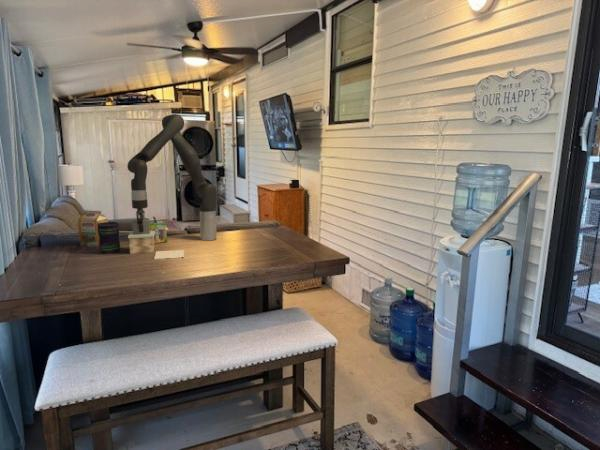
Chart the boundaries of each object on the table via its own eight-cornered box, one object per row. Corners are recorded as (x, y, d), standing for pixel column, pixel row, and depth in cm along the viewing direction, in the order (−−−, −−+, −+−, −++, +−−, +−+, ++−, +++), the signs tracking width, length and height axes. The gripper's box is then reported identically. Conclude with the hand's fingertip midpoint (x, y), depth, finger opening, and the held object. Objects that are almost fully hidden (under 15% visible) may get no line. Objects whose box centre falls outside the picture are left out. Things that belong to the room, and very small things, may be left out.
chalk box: (167, 242, 231) (166, 217, 228) (150, 244, 226) (149, 218, 223) (163, 239, 238) (162, 214, 235) (147, 240, 233) (145, 215, 231)
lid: (154, 234, 217) (153, 217, 215) (153, 239, 206) (152, 222, 204) (131, 235, 214) (130, 218, 212) (128, 240, 202) (126, 222, 201)
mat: (184, 250, 212) (184, 250, 212) (184, 257, 199) (183, 256, 199) (156, 252, 209) (156, 251, 209) (154, 259, 195) (154, 258, 195)
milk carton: (109, 242, 229) (106, 209, 225) (98, 246, 218) (95, 212, 215) (91, 241, 230) (89, 208, 226) (80, 246, 219) (77, 211, 216)
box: (154, 247, 218) (153, 233, 216) (152, 252, 207) (152, 237, 206) (132, 248, 215) (131, 234, 213) (130, 254, 204) (129, 238, 203)
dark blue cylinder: (112, 255, 202) (110, 226, 200) (95, 253, 204) (92, 225, 201) (124, 250, 212) (122, 222, 209) (108, 249, 214) (105, 221, 211)
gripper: (145, 200, 200) (148, 234, 203) (148, 196, 213) (150, 228, 217) (129, 200, 198) (132, 234, 201) (133, 197, 211) (135, 229, 215)
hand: (141, 231), depth 209 cm, fingers closed on lid, 3 cm apart
